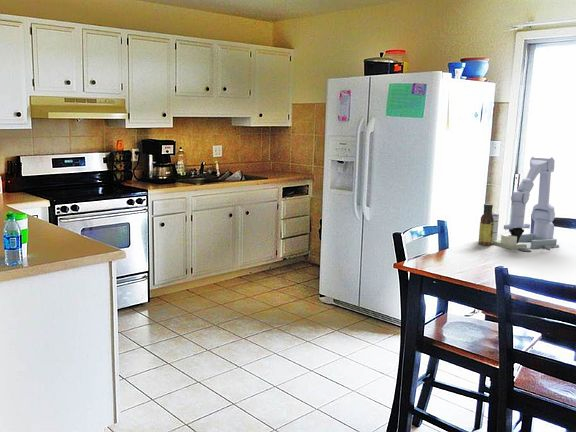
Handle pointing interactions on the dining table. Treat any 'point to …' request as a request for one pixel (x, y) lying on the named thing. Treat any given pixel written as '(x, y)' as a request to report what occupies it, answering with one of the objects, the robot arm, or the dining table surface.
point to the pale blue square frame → (537, 240)
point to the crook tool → (550, 246)
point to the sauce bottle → (486, 226)
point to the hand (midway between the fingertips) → (515, 243)
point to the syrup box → (495, 226)
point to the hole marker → (524, 250)
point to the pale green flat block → (509, 245)
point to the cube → (509, 239)
